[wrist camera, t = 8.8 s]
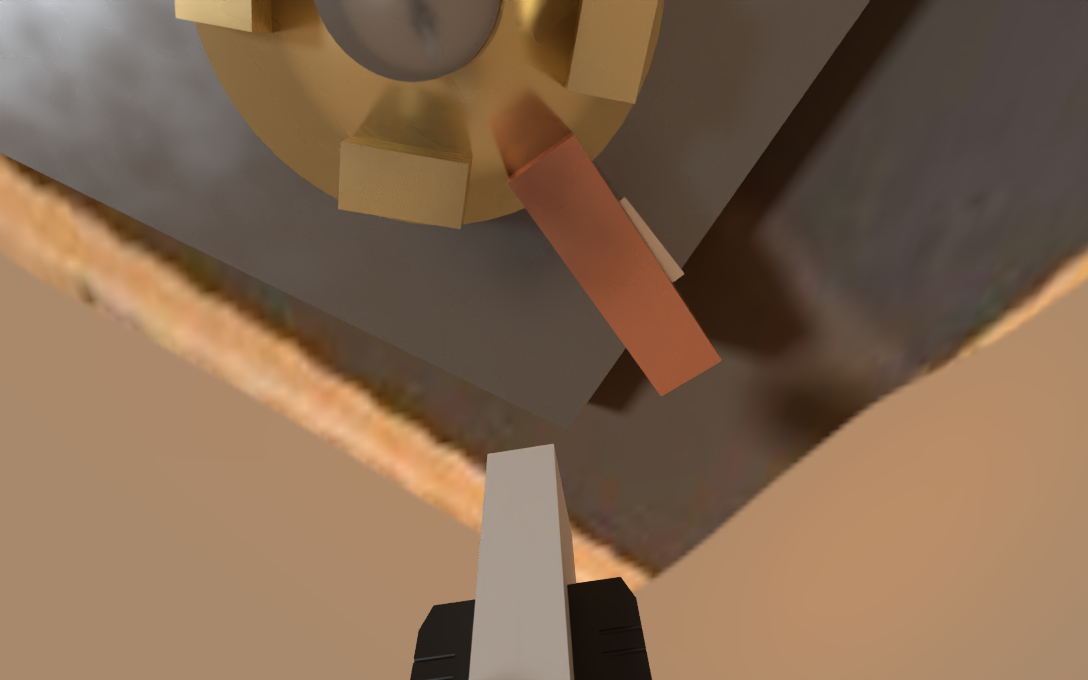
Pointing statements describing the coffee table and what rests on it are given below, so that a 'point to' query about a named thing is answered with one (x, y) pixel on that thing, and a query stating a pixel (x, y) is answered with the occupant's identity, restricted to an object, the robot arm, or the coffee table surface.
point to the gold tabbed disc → (474, 140)
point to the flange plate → (385, 244)
